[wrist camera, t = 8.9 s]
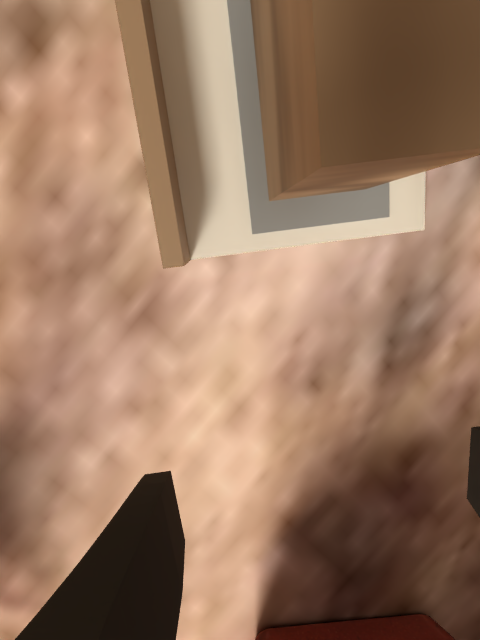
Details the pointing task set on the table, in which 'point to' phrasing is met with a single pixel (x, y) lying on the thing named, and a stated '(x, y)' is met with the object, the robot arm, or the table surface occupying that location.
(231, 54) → the tan rimmed flat piece
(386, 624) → the plant pot
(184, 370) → the table surface
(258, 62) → the brown slab
